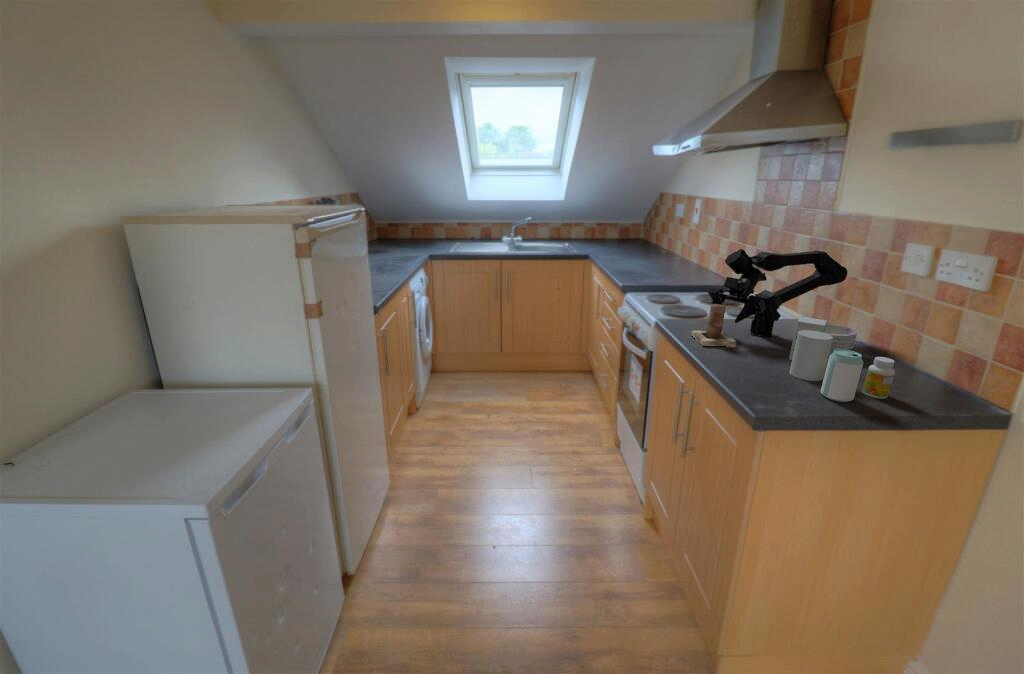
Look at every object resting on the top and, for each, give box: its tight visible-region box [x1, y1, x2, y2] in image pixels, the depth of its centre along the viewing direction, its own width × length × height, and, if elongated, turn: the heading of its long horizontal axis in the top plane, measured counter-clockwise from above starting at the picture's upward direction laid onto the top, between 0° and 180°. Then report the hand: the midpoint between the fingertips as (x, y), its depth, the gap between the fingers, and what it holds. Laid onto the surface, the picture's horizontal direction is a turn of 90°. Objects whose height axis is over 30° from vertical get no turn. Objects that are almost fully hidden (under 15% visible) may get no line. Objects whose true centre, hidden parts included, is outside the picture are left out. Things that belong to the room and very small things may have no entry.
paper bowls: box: [824, 323, 858, 357], centre depth 151 cm, size 15×15×8 cm
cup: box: [789, 330, 833, 382], centre depth 131 cm, size 8×8×12 cm
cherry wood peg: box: [706, 303, 727, 339], centre depth 158 cm, size 5×5×12 cm
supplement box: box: [788, 316, 828, 361], centre depth 143 cm, size 7×7×13 cm
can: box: [820, 349, 864, 403], centre depth 118 cm, size 7×7×12 cm
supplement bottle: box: [862, 356, 896, 400], centre depth 120 cm, size 5×5×10 cm
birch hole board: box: [690, 330, 737, 348], centre depth 159 cm, size 11×11×2 cm
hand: (722, 319), depth 159 cm, fingers open, 9 cm apart
